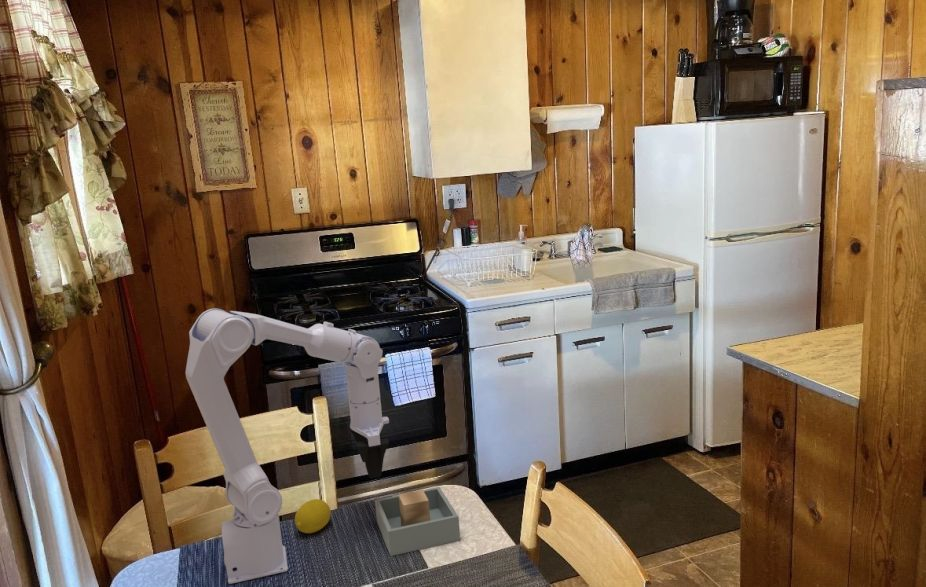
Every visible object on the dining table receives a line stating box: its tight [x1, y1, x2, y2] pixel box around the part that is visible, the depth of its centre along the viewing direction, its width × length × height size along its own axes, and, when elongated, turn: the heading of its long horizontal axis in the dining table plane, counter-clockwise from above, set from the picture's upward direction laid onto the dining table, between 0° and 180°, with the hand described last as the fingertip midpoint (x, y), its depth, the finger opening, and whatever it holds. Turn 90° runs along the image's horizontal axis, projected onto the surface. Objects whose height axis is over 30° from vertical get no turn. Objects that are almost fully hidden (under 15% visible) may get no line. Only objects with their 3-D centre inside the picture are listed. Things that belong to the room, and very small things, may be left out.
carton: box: [397, 489, 430, 527], centre depth 127 cm, size 4×4×6 cm
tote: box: [374, 486, 461, 557], centre depth 127 cm, size 12×12×4 cm
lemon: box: [294, 498, 331, 534], centre depth 130 cm, size 6×6×8 cm
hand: (371, 468), depth 131 cm, fingers open, 7 cm apart
